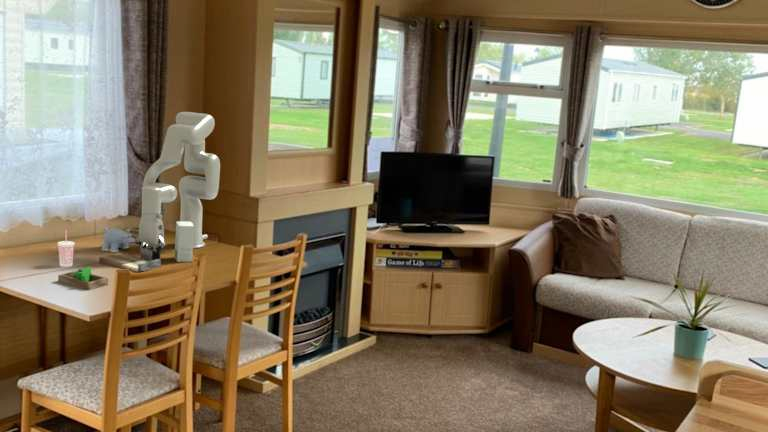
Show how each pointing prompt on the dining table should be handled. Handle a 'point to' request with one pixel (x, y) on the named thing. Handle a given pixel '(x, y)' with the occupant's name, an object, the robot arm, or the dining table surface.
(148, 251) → the clip block
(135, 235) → the clip frame
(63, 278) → the brown wooden tray
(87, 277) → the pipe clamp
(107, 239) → the hippopotamus toy
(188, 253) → the skincare box
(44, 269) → the dining table surface
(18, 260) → the dining table surface
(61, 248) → the beverage cup
